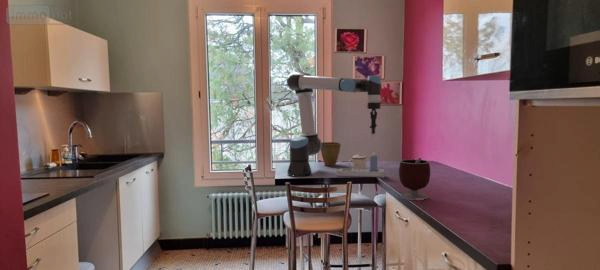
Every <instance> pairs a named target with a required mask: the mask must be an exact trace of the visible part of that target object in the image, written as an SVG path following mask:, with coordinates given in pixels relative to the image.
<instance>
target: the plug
mask: <svg viewBox="0 0 600 270" xmlns="http://www.w3.org/2000/svg"><path fill="white" fill-rule="evenodd" d="M375 153H376V152H372V154H370V158H369V161H370V166H369V167H370V168H369V169H370V171H377V169H378V155H376V154H375Z"/></svg>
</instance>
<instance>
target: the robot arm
mask: <svg viewBox="0 0 600 270" xmlns="http://www.w3.org/2000/svg"><path fill="white" fill-rule="evenodd" d="M381 79H382V78H381V76H380V75H368V76H367V78H366V79H356V78H350V77H349V78H348V77H346V78H345V77H343V78H342V77H332V76H331V77H330V76H318V75H317V76H316V75H315V76H313V75H312V74H309V73H306V72H299V71H294V72H291V73H290V74H289V75H288V76H287V79H286V84H287V86H288V88H289V89H291V90H292V91H294V92H295V96H297V98H298V108H299V118H300V126H301V134H300V135H299V136H296V137H292V138H290V139H289V165H288V168H287V175H288V174H289V175H294V176H293V177H296V176H301V177H305V176H304V175H309V176H311V175H312V168H311V165H310V162H309V160H310V159H309V156H314V155H317V154H318V153H319V152H321V147H322V143H323V142H322V141H321V139H320V138H319V136H318V135H319V134H318V133H317V132H316V127H315V120H314V119H315V118H314V110H313V102H312V101H313V100H312V95H313V94H314V90H320V91H321V90H323V91H334V92H335V91H337V92H345V93H367V99H366V100H367V105H366V106H367V110H371V112H370V113H369V114H370V119H371V123H370V126H369V129H370V140H376V139H377V137H376V136H377V135H376V134H377V131H376V130H377V127H378V125H377V118H378V117H377V116H378V112H377V110H380V109H381V99H382V97H383V96H381V94H382V93H381V92H382V91H381V89H382V81H381ZM310 174H311V175H310ZM289 175H288V176H289Z"/></svg>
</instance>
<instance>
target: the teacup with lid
mask: <svg viewBox="0 0 600 270" xmlns="http://www.w3.org/2000/svg"><path fill="white" fill-rule="evenodd" d="M366 159H367V156H365V155H364V154H362V153H361V152H357V154H355V155H353V156H352V157H351V159H349V160H348V162H347V164H348V167H350V168H352V169H367V166H366V164H367V162H366V161H367V160H366ZM351 162H352V165H351V164H350V163H351Z"/></svg>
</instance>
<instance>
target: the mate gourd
mask: <svg viewBox="0 0 600 270" xmlns="http://www.w3.org/2000/svg"><path fill="white" fill-rule="evenodd" d="M398 176H399V182H400V183H401V185H402V186H403V187H405V188H407V189H408V190H410V192H408V193H407V192H406V193H402V194H400V198H401V199H402V200H406V201H410V200H416V198H424V199H427V198H428V199H429V197H428V195H426V194H423V193H419V192H418V191H419V190H422V189H424V188H426V187H427V186H428V185H429V183H430V180H431V179H430V178H431V166H430V161H429V160H426V159H422V157H419V158H417V159H412V158H411V159H410V158H409V159H408V158H407V159H402V160H400V161H399V167H398ZM428 199H427V200H428Z"/></svg>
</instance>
